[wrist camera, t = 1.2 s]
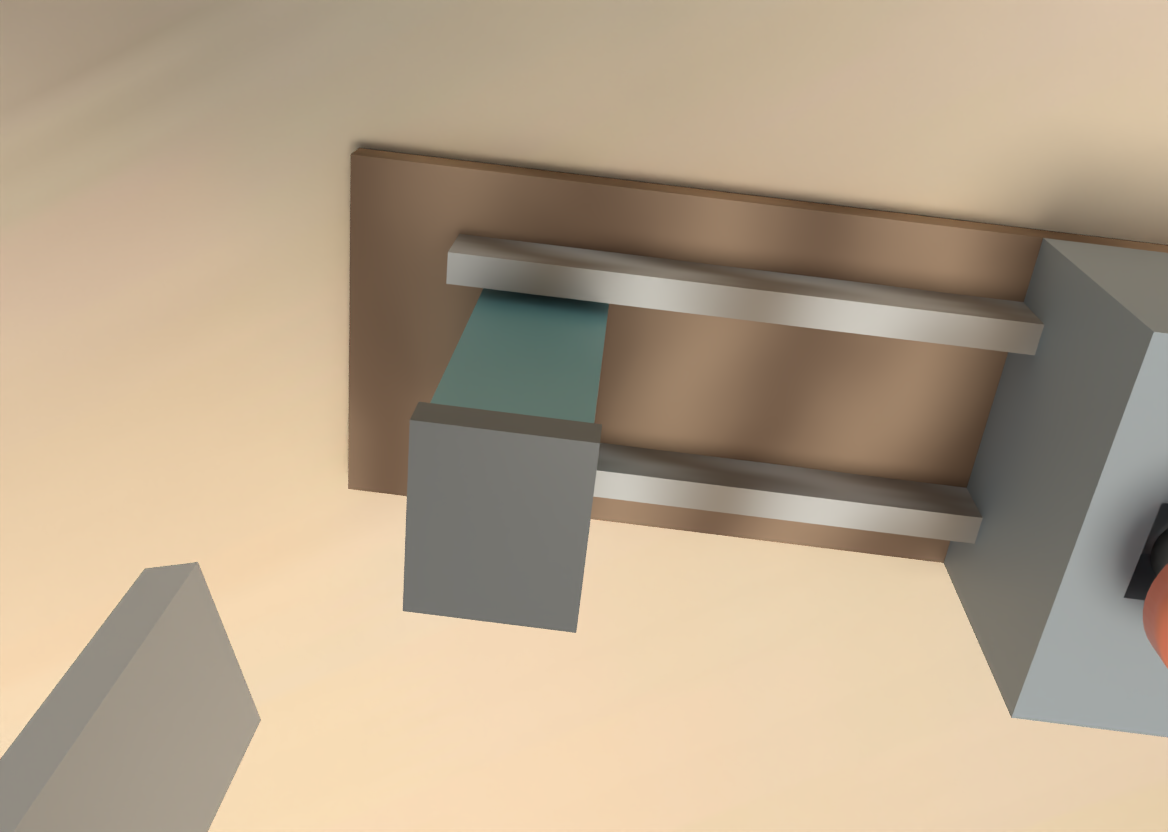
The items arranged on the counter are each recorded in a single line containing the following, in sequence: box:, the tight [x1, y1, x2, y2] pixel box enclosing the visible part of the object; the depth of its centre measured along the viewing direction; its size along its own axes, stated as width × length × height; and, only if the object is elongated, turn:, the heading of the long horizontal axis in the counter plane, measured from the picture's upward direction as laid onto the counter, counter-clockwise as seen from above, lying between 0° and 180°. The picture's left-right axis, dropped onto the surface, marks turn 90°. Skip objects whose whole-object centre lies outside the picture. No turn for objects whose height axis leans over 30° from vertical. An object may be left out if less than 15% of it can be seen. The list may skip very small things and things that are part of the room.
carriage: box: [403, 288, 609, 633], centre depth 30 cm, size 4×5×11 cm
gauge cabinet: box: [944, 238, 1168, 737], centre depth 31 cm, size 6×12×8 cm, turn 174°
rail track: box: [348, 148, 1168, 563], centre depth 34 cm, size 28×12×3 cm, turn 84°
